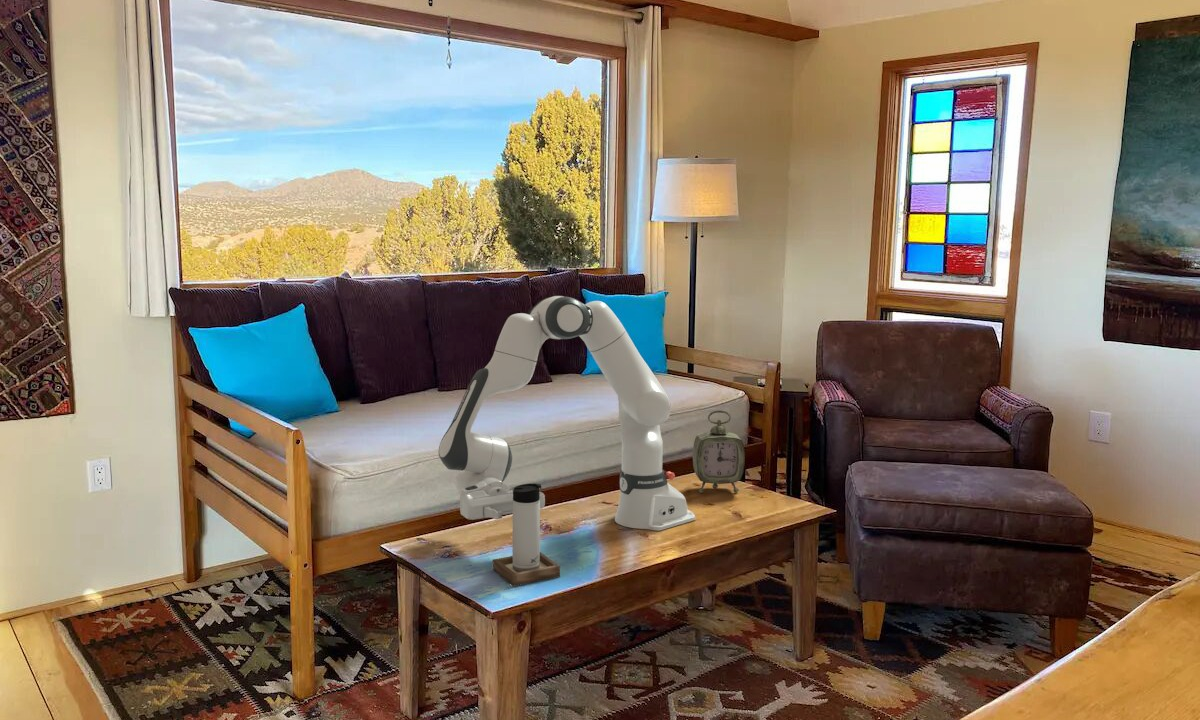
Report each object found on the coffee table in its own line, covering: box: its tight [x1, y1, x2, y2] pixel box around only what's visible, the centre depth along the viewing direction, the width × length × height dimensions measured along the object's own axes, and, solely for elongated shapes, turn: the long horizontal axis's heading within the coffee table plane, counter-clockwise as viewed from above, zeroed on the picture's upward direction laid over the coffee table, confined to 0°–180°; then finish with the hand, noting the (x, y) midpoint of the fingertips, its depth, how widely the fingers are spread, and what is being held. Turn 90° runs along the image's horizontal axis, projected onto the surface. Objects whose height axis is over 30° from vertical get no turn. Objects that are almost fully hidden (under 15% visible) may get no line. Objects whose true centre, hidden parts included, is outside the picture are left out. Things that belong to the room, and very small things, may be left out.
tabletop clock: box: [692, 410, 746, 494], centre depth 281 cm, size 14×9×25 cm, turn 95°
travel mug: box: [512, 483, 542, 572], centre depth 214 cm, size 6×7×20 cm
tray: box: [492, 551, 561, 587], centre depth 216 cm, size 12×11×3 cm
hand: (517, 512), depth 217 cm, fingers open, 8 cm apart
